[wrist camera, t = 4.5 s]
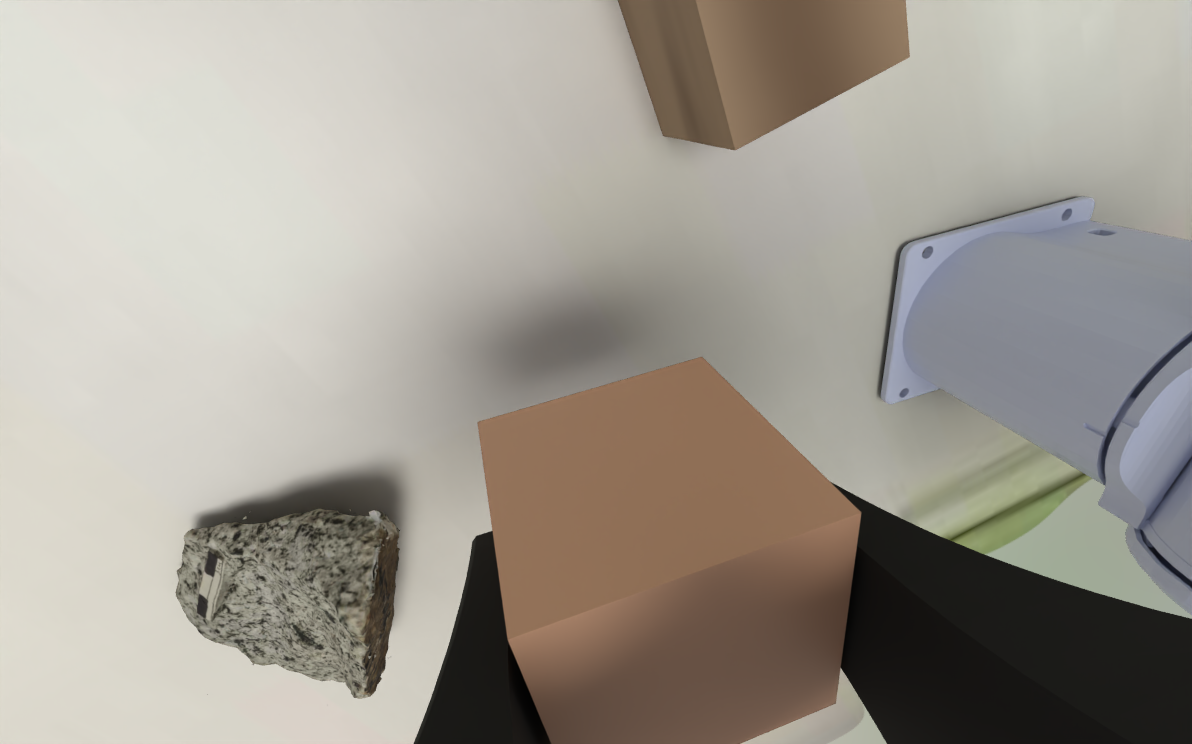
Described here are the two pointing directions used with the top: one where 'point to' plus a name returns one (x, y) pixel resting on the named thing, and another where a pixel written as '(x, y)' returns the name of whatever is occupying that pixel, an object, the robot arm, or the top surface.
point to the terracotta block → (667, 562)
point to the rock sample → (297, 592)
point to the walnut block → (757, 59)
